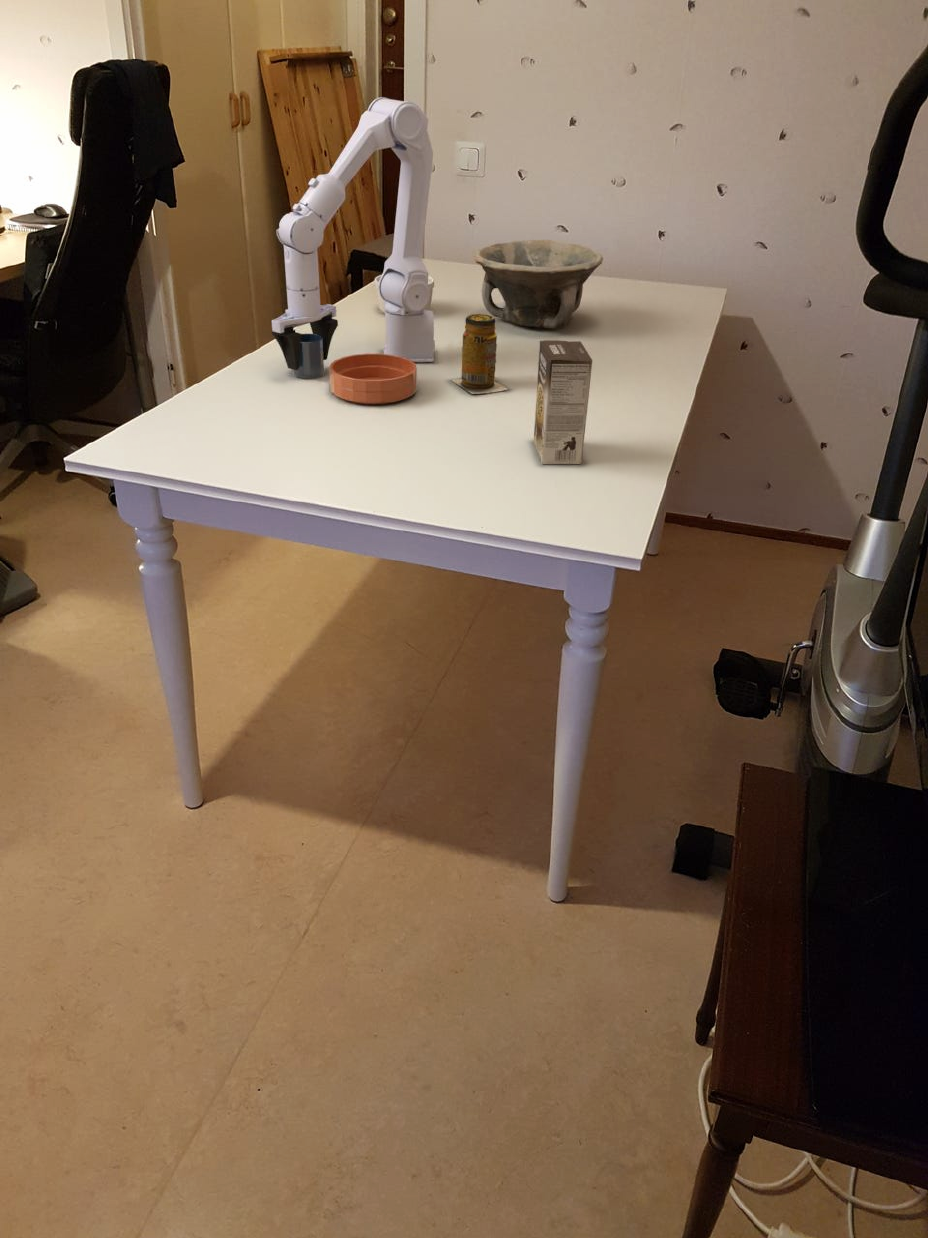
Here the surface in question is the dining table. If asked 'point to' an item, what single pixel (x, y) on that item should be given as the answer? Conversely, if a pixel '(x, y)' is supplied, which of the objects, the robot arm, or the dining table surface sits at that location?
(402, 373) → the clay bowl
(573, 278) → the bowl
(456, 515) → the dining table surface
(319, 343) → the cup
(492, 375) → the condiment
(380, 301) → the ramekin
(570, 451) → the coffee box
